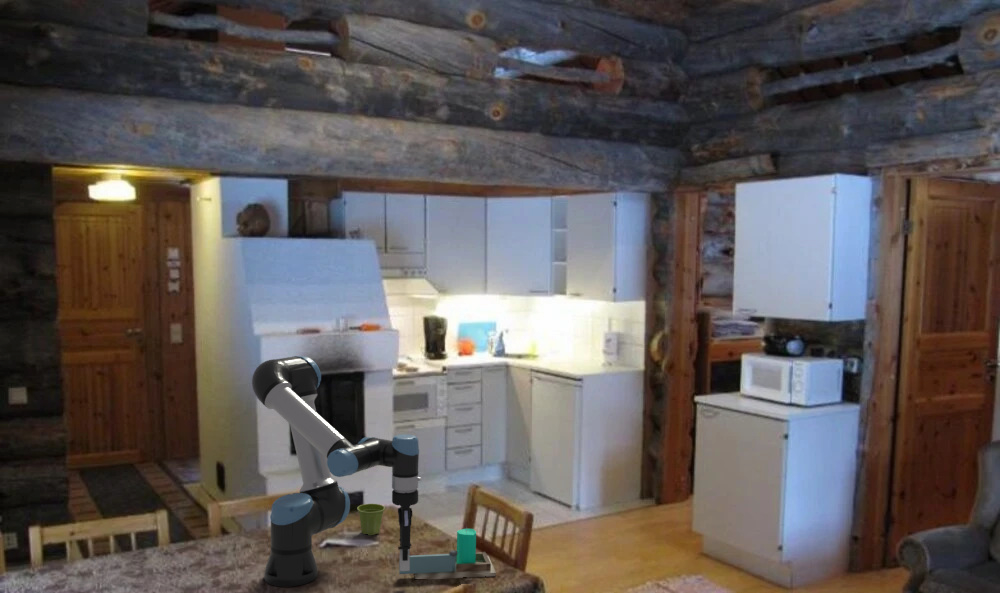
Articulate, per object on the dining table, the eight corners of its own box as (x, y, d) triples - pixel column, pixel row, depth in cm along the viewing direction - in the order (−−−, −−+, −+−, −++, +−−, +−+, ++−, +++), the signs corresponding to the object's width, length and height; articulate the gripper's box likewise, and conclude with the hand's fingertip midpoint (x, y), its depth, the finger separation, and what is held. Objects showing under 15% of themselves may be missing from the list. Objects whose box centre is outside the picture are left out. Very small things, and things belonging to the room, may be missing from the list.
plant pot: (385, 528, 284) (385, 503, 284) (383, 537, 275) (383, 512, 275) (358, 528, 284) (358, 503, 283) (355, 537, 274) (355, 512, 274)
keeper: (457, 572, 243) (458, 552, 242) (399, 574, 240) (399, 555, 239) (456, 569, 245) (457, 550, 245) (399, 571, 242) (399, 552, 242)
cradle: (415, 580, 239) (415, 570, 239) (412, 562, 253) (412, 552, 253) (495, 576, 244) (496, 566, 244) (488, 558, 257) (488, 549, 257)
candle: (458, 569, 245) (459, 530, 245) (454, 562, 251) (454, 524, 250) (478, 568, 247) (478, 529, 246) (473, 560, 253) (473, 522, 252)
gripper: (420, 495, 229) (419, 578, 230) (416, 482, 241) (415, 561, 243) (393, 496, 227) (392, 579, 228) (391, 483, 240) (390, 562, 241)
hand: (404, 569), depth 235 cm, fingers closed
